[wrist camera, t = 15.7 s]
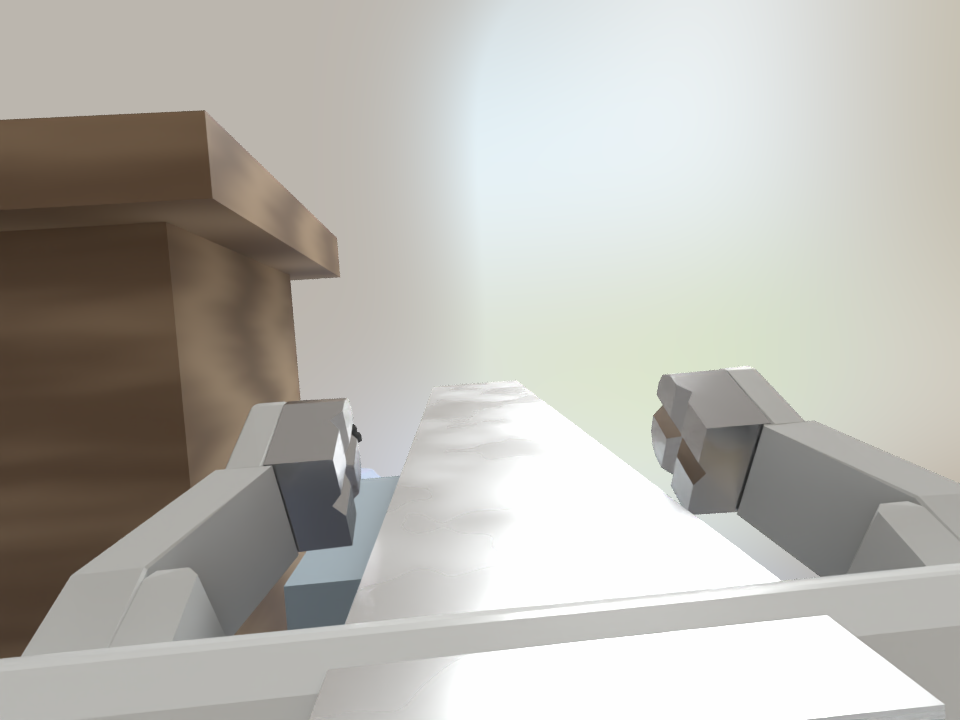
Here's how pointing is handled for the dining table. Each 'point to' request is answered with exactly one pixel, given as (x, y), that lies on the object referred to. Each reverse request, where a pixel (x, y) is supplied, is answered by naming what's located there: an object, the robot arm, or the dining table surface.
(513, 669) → the aluminium bar
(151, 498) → the walnut stand
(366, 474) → the dining table surface
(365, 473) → the dining table surface
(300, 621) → the block
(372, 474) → the dining table surface
